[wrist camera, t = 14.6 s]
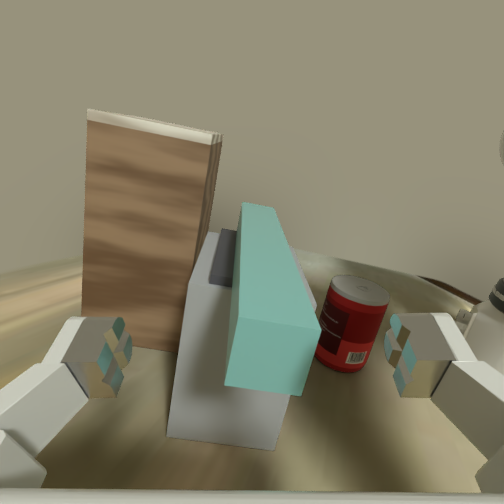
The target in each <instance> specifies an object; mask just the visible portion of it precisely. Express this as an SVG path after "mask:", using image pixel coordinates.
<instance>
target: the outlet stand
mask: <svg viewBox="0 0 504 504" xmlns="http://www.w3.org/2000/svg"><path fill="white" fill-rule="evenodd" d="M87 117H88V118H87V149H86V181H85V214H84V247H83V278H82V311H81V317H122V318H123V320H124V322H125V324H126V325H125V327H124V330H125V331H126V332H128V333H129V334H130V336H131V339H132V345H133V346H136V347H143V348H150V349H156V350H163V351H169V352H176V353H178V352H179V345H180V338H181V331H182V324H183V318H184V311H185V304H186V297H187V290H188V284H189V281H190V278H191V275H192V273H193V270H194V267H195V265H196V262H197V260H198V257H199V254H200V252H201V249H202V246H203V244H204V241H205V238H206V236H207V233H208V229H209V222H210V216H211V210H212V204H213V197H214V191H215V185H216V179H217V172H218V166H219V159H220V154H221V147H222V141H223V134H221V133H216V132H211V131H206V130H201V129H197V128H192V127H187V126H182V125H177V124H173V123H168V122H163V121H158V120H153V119H149V118H144V117H138V116H131V115H125V114H119V113H112V112H106V111H99V110H93V109H88V116H87Z"/></svg>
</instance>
